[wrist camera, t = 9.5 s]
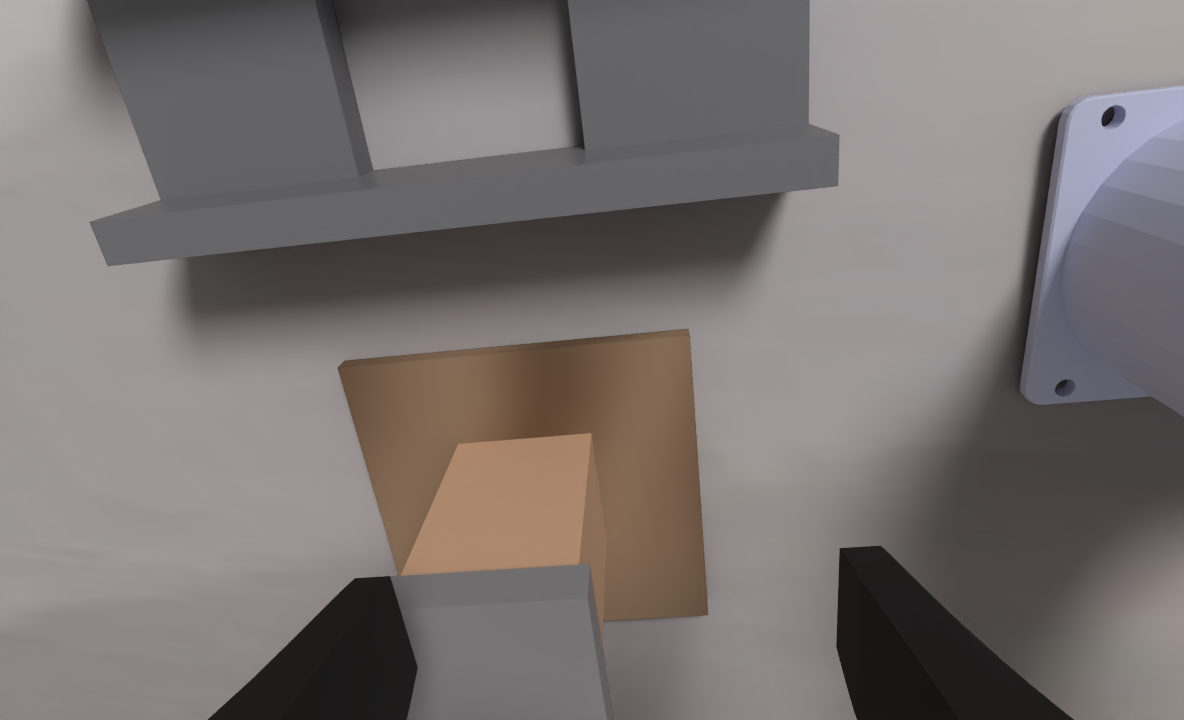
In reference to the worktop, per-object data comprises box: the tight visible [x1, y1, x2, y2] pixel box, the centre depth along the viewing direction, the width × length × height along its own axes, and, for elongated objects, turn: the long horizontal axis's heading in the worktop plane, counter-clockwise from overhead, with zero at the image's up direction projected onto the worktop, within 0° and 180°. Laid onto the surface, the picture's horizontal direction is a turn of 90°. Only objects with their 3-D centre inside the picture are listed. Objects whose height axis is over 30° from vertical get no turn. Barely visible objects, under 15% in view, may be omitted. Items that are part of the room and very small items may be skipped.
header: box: [87, 0, 839, 266], centre depth 15 cm, size 16×8×4 cm, turn 97°
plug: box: [391, 433, 614, 720], centre depth 18 cm, size 5×5×7 cm
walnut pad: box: [338, 329, 708, 621], centre depth 21 cm, size 10×10×1 cm
